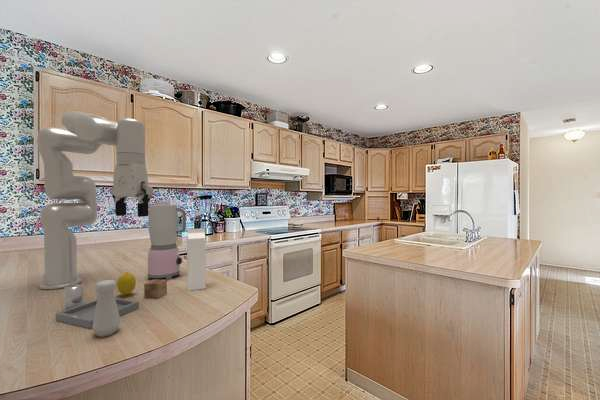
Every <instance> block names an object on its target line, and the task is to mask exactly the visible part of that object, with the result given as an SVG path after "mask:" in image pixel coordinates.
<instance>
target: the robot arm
mask: <svg viewBox="0 0 600 400" xmlns="http://www.w3.org/2000/svg"><path fill="white" fill-rule="evenodd" d="M60 121H61V124H62V127H63V128H62V127H61V128H60V127H53V126H50V127H49V126H48V127H44V128H41V129H40V130H39V131H38V133H37V138H36V143H37V148H38V151H39V152H38V153H39V154H40V156H41V159H42V162H43V163H42V164H43V177H44V178H43V179H44V180H43V181H44V192H45V195H46V197H48V199H50V200H69V201H70V200H78V201H79V202H57V203H54V202H53V203H50V204H45V206H43V207H42V209H41V210H40V214H39V216H40V221H41V225H42V231H43V242H44V244H43V247H44V249H43V250H44V255H43V256H44V257H43V258H44V273H43V275H42V278H44V282H41V283H39V289H41V290H58V289H63V288H64V289H65V287H66V286H69V285H74V284H81V283H82V282H83V278H82V277H80V276H78V264H77V263H78V258H77V256H78V255H77V254H78V253H77V252H78V251H77V250H78V247H77V246H78V245H77V237H76V235H75V234H74V233H73V231H72V230H71V229H70V228H72V227H85V226H91V225H93V224H95V223H96V221H97V219H98V199H97V198H98V197H97V196H98V195H97V187H96V186H97V185H96V183H95V181H94V180H93V179H92V178H91V177H88V176H83V175H82V176H81V175H74V169H73V162H72V161H71V160H70V158H69V157H68V156H67V155H66V154H65V153H64V152H66V153H73V154H74V153H75V154H83V155H91V154H94V153H96V152H97V151H98V149H100V147H102V145H106V146H114V147H116V165H115V167H114V173H113V181H112V182H113V183H112V188H111V189H110V192H111V195H112V196H111V197H112V199H113V203H114V204H115V206H114V207H115V209H114V210H115V211H114V213H115V216H116V217H120V216H121V217H123V216H127V202H126V200H127V198H136V199H137V201H138V203H137V217H138V218H139V217H140V218H142V217H144V218H145V217H148V214H149V204H150V202H151V199H152V198H153V193H154V190H155V189H154V188H153V187H152V186H150V185H149V177H148V170H147V165H146V125H145V123H144V122H143V121H141V120H138V119H135V118H128V117H127V118H126V117H125V118H124V117H123V118H120V119H117V121H113V120H110V119H108V118H107V117H105V116H102V115H97V114H92V113H90V112H89V113H88V112H87V113H86V112H84V111H79V110H71V111H67V112H65V113H64V114H63V115H62V116H61V120H60Z"/></svg>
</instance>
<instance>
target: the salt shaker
mask: <svg viewBox="0 0 600 400" xmlns="http://www.w3.org/2000/svg"><path fill="white" fill-rule="evenodd" d="M116 288H117V281H116V280H114V279H105V280H101V281H98V282H97V283H96V285H95V292H96V293H97V294H98V295H97V299H96V300H97V304H96V309H95V315H94V320H93V325H92V328H91V329H92V330H93V332H94V334H95V335H96V337H101V338H102V337H107V336H111V335H113V334H115V333H117V331H118V329H119V326H120V324H121V316H119V312H118V308H117V304H116V300H115V298H116V296H115V291H114V290H117V289H116Z"/></svg>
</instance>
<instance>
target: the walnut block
mask: <svg viewBox="0 0 600 400" xmlns="http://www.w3.org/2000/svg"><path fill="white" fill-rule="evenodd" d="M143 289H144V290H143V293H144V294H143V297H144V298H143V299H154V300H155V299H156V300H158V299H161V298H162V297H164V296H165V295H167V294H168V280H166V279H161V278H152V279H150V280H149V281H147V282H145V283H144V284H143Z"/></svg>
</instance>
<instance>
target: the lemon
mask: <svg viewBox="0 0 600 400" xmlns="http://www.w3.org/2000/svg"><path fill="white" fill-rule="evenodd" d="M136 285H137V280H136V277H135V275H134V274H132V273H131V272H128V271H127V272H124V273H123V274H121V275H120V276H118V279H117V281H116V288H117V289H116V290H117V291H118V292H119V293H121V294H123V295H125V296H128V295H129V294H131V293H132V292H133V291H134V290H135V288H136Z"/></svg>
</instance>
